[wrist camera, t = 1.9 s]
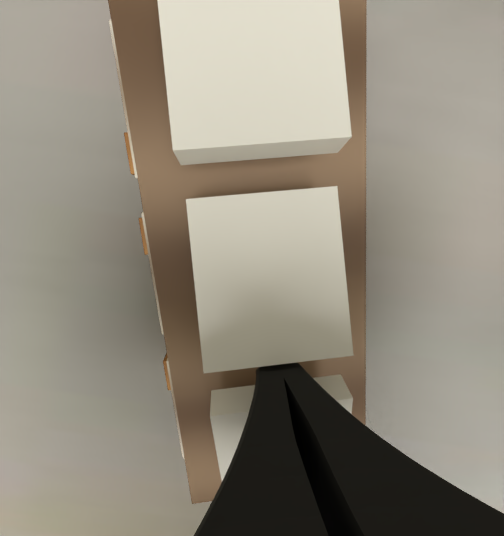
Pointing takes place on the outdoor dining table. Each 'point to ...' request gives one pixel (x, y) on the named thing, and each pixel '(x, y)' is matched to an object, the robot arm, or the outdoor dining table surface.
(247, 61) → the switch
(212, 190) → the switch unit
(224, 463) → the switch
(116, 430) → the outdoor dining table surface
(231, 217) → the switch
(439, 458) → the outdoor dining table surface
